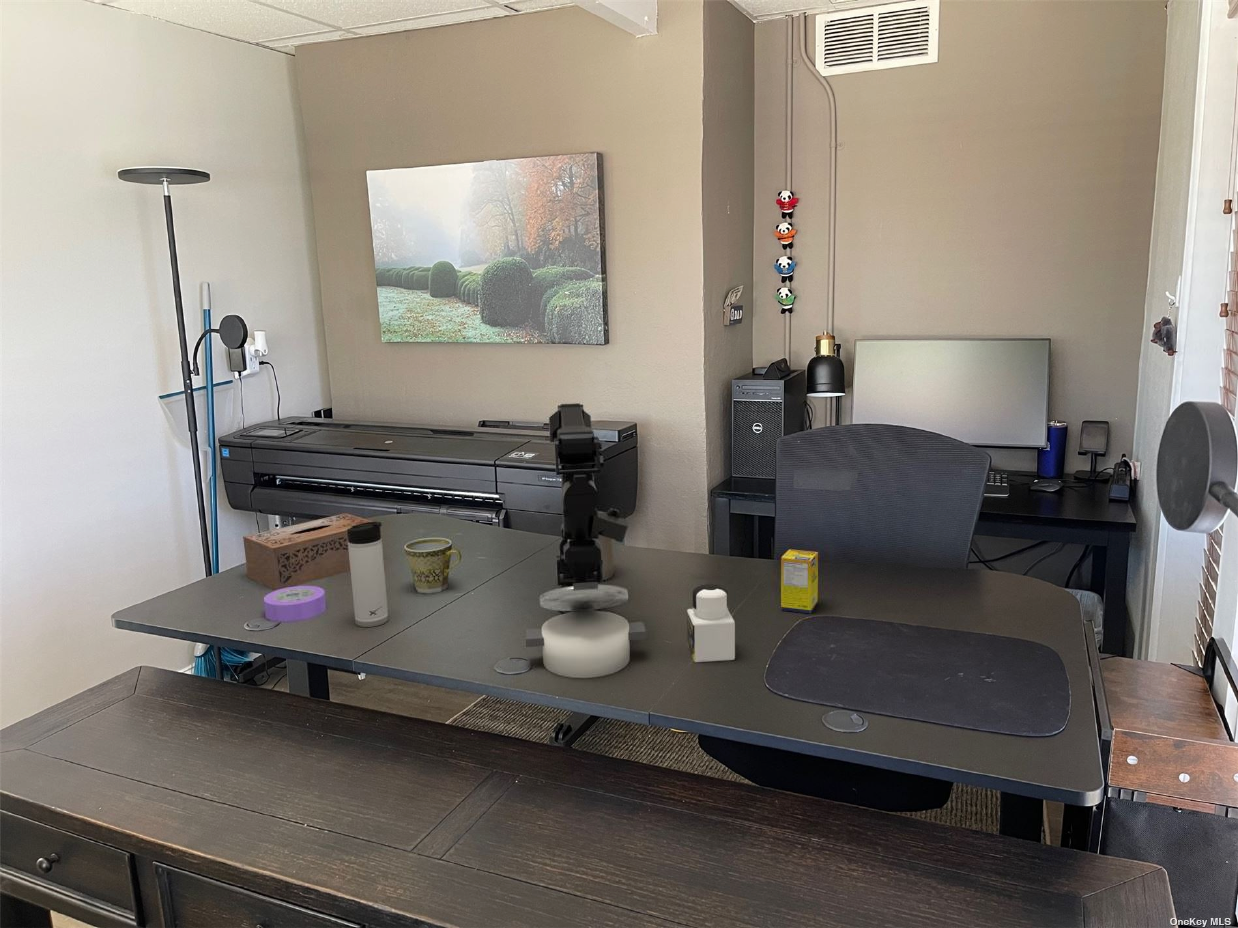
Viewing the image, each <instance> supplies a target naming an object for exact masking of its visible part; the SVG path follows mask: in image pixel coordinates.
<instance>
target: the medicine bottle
mask: <svg viewBox="0 0 1238 928" xmlns="http://www.w3.org/2000/svg"><path fill="white" fill-rule="evenodd" d="M728 596H729V592H728V590H727V588H725V587H723V586H721V585H718V584H714V583H713V584H712V583H711V584H710V583H708V584H701V585H699V586H696V587H695V588H693V590H692V608H687V610H686V630H687V631H686V633H687V635H686V636H687V642H686V643H687V648H688V650H689V653H690V655H691V657H692V660H693V663H704V662H705V663H707V662H720V661H722V662H724V661H733V660H735V658H736V641H735V640H736V636H735V635H736V633H735V632H736V629H735V628H736V626H735V625H736V624H735V623H736V622H735V620H734V618H733V616H732V614H731V613H730V611H729V597H728Z"/></svg>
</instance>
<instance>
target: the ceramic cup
mask: <svg viewBox="0 0 1238 928" xmlns="http://www.w3.org/2000/svg"><path fill="white" fill-rule="evenodd" d="M404 552H405V555H406V559H407V562H408V565H409V567H410V572H411V575H412V579H413V583H414V587H415V589H416V591H417V592H418V593H419V594H428V595H429V594H436V593H441V592H443V591H445V590H447V589H448V585H449V573H450V571H451V570H453V568H454V567H455V566H456V565H458V564H459V563H460V562H461V560H462V554H461V551H460V550H458V549H455V548H454V549H453V542H452V540H450V539H448V538H444V537H426V538H419V539H415V540H412V541H408V543H405V545H404ZM453 553H456V554H457V555H458V560H457V561H456V562H454V563H453V564H452V565H451V566H450V563H451V557H452V554H453Z"/></svg>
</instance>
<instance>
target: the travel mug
mask: <svg viewBox="0 0 1238 928" xmlns="http://www.w3.org/2000/svg"><path fill="white" fill-rule="evenodd" d="M381 528H382V522H379V521H373V522H367V523H361V524H357V525H354V526H352V528H350V529H347V535H348V544H349V545H348V549H349V559H350V570H351V571H350V578H351V580H350V581H351V590H352V598H353V599H352V600H353V609H354V621H355V624H356V625H357V626H358V627H363V628H372V627H373V628H374V627H377V626H382V625H384V624H386V622H388V621H389V612H388V610H389V609H388V600H387V599H388V598H387V589H386V585H387V584H386V577H385V576H386V575H385V567H384V566H385V564H384V552H383V542H382V534H381V533H382V532H381Z"/></svg>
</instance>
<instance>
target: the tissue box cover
mask: <svg viewBox="0 0 1238 928" xmlns="http://www.w3.org/2000/svg"><path fill="white" fill-rule="evenodd" d="M367 522H374V521H373V520H371V519H366V518H363V517H359V516H355V515H353V514H349V513H347V512H346V513H341V514H337V515H331V516H327V517H323V518H319V519H315V520H309V521H305V522H302V523H298V524H294V525H292V524H291V525H289V526H288V525H287V526H284V527H280V528H275V529H271V530H270V529H269V530H266V531H263V532H258V533H253V534H249V535H245V536H243V537H242V539H243V547H244V555H245V556H244V557H245V563H246V571H247V573H246V574H247V578H248V579H250V580H252V581H255V582H256V583H259V584H261V585H264V586H266V587H268V588H270V589H272V590H273V591H276V590H279V589H283V588H288V587H295V586H302V585H304V584H307V583H311V582H315V581H318V580H322V579H326V578H330V577H332V576H335V575H340V574H343V573H347V572H351V570H350V559H349V549H348V545H349V544H348V535H347V529H350V528H352V526H354V525H357V524H361V523H367Z"/></svg>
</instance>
